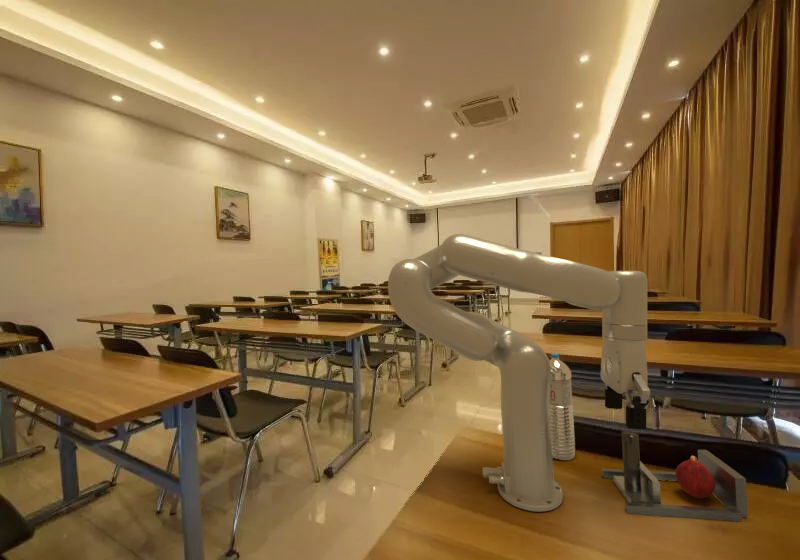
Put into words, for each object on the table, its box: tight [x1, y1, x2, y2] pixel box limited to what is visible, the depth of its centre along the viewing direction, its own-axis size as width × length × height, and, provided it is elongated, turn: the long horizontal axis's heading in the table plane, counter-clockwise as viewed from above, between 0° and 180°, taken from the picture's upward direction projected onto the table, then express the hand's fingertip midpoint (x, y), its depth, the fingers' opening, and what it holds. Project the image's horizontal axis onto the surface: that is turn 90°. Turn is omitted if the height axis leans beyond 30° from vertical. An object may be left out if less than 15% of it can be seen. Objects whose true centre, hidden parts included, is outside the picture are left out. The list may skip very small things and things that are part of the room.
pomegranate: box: [675, 455, 715, 499], centre depth 66 cm, size 6×6×8 cm
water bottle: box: [549, 352, 576, 461], centre depth 84 cm, size 7×7×25 cm
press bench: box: [601, 449, 749, 522], centre depth 67 cm, size 20×12×7 cm, turn 79°
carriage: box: [612, 430, 662, 504], centre depth 68 cm, size 5×8×12 cm, turn 169°
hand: (624, 417), depth 68 cm, fingers open, 9 cm apart
